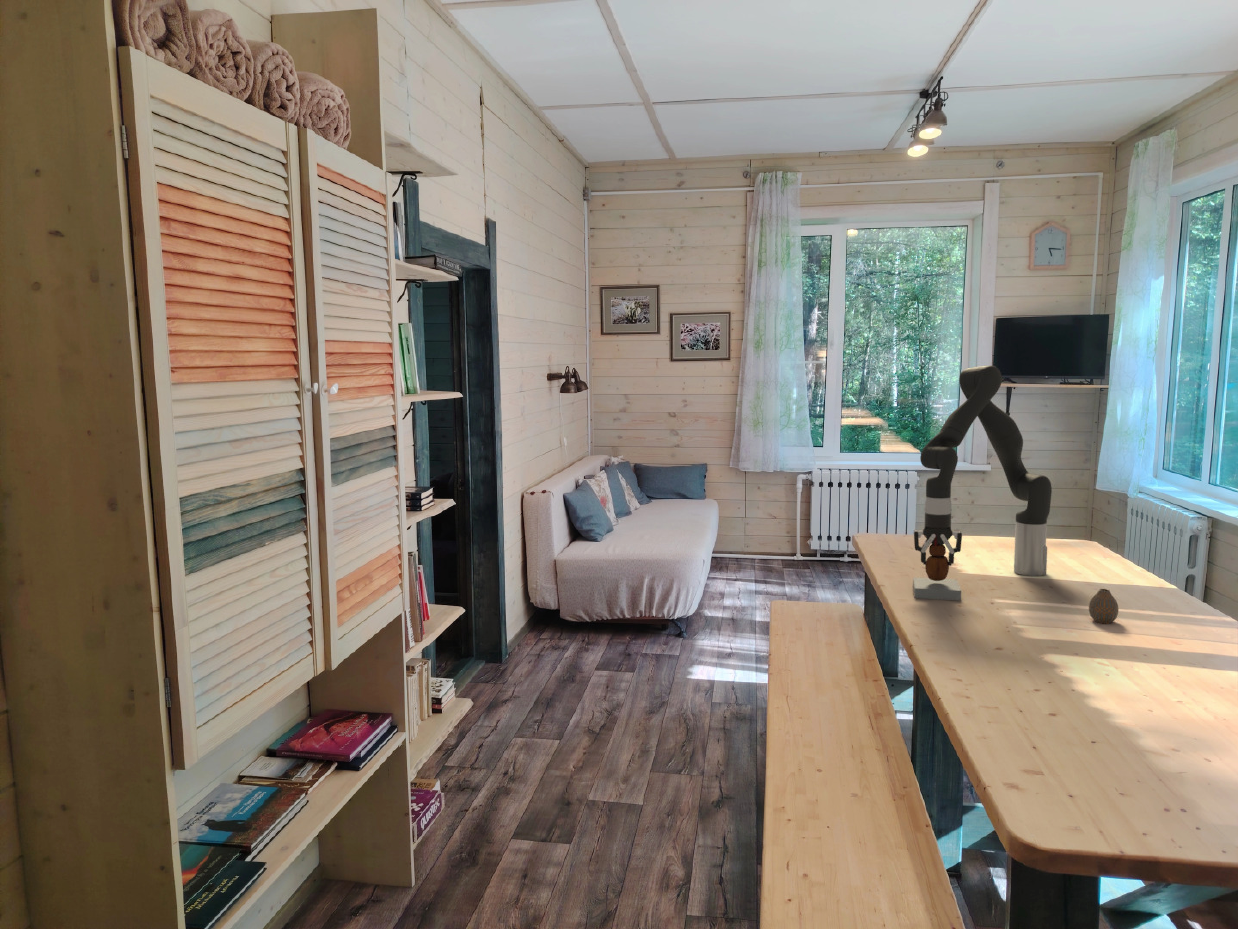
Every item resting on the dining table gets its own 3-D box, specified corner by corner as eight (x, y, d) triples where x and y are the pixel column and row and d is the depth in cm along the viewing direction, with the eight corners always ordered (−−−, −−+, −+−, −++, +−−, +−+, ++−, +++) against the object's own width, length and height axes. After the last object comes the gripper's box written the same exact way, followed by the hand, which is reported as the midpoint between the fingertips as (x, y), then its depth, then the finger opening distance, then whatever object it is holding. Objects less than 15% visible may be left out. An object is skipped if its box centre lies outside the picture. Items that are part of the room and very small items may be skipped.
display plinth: (956, 588, 254) (957, 579, 253) (960, 600, 241) (961, 590, 241) (912, 586, 257) (913, 577, 257) (914, 597, 245) (914, 588, 245)
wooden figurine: (936, 583, 245) (937, 535, 243) (921, 579, 250) (922, 531, 248) (952, 580, 248) (953, 532, 246) (937, 576, 253) (938, 529, 251)
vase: (1116, 618, 221) (1117, 587, 220) (1119, 626, 215) (1121, 594, 214) (1087, 616, 224) (1088, 585, 223) (1089, 623, 218) (1091, 592, 217)
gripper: (962, 509, 248) (961, 562, 250) (912, 508, 252) (911, 560, 254) (964, 514, 240) (963, 568, 243) (913, 513, 245) (912, 566, 247)
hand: (937, 564), depth 248 cm, fingers closed on wooden figurine, 6 cm apart
